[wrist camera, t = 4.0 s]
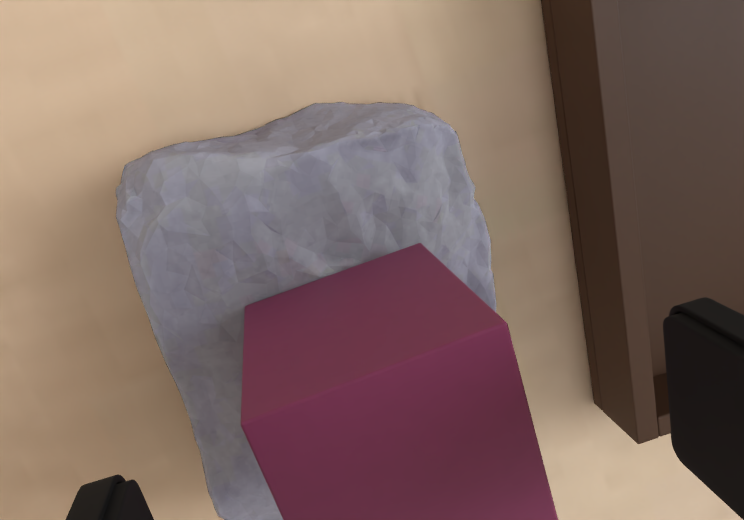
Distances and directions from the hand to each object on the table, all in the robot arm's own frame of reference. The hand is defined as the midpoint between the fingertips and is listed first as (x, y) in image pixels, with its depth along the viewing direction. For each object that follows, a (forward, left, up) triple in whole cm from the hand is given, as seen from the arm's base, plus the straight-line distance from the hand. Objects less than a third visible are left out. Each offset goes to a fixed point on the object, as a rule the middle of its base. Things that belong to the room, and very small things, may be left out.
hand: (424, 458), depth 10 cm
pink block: (0, -1, -6) cm, 6 cm away
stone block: (0, 0, -10) cm, 10 cm away
